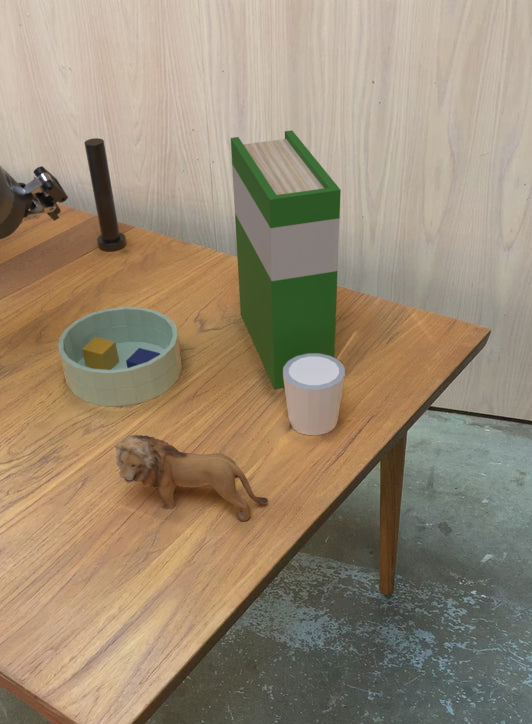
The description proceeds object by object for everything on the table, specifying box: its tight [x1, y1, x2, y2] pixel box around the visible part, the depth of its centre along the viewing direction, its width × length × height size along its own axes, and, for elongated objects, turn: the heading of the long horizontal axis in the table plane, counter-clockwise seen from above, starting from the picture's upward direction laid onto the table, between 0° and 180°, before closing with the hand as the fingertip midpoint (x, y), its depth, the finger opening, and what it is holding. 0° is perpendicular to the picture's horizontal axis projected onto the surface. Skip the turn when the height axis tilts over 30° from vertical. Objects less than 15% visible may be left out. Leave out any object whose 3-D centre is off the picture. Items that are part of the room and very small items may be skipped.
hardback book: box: [230, 129, 342, 390], centre depth 92 cm, size 18×7×24 cm, turn 15°
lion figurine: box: [114, 434, 269, 522], centre depth 77 cm, size 15×5×9 cm, turn 90°
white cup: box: [283, 353, 346, 436], centre depth 88 cm, size 7×7×7 cm
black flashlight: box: [84, 137, 127, 252], centre depth 118 cm, size 4×4×16 cm
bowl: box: [58, 306, 183, 408], centre depth 96 cm, size 14×14×6 cm
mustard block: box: [82, 337, 119, 370], centre depth 97 cm, size 3×3×3 cm
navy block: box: [126, 348, 160, 368], centre depth 95 cm, size 3×3×3 cm
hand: (23, 231), depth 95 cm, fingers open, 8 cm apart
